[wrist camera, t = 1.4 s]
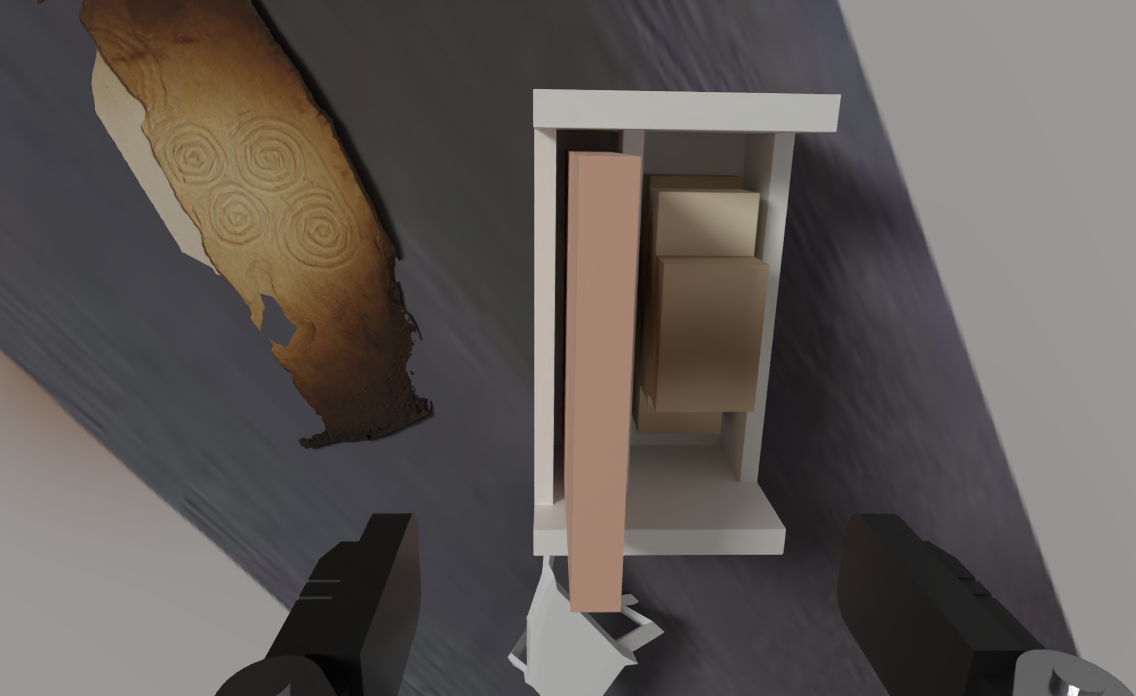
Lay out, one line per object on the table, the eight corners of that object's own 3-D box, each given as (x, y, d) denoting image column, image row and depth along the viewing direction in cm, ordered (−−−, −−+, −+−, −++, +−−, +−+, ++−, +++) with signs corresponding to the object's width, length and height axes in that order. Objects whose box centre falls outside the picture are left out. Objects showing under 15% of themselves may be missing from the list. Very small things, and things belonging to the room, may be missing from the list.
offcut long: (642, 173, 31) (650, 175, 29) (728, 174, 31) (743, 177, 29) (631, 413, 35) (638, 433, 32) (708, 413, 35) (720, 433, 32)
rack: (537, 103, 31) (533, 89, 22) (760, 107, 31) (840, 94, 23) (536, 457, 36) (533, 555, 28) (727, 457, 37) (782, 554, 28)
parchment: (26, -8, 29) (10, -12, 28) (219, -110, 28) (208, -117, 27) (312, 458, 37) (306, 465, 36) (474, 392, 35) (472, 398, 35)
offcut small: (656, 255, 27) (664, 263, 25) (753, 256, 27) (769, 265, 25) (648, 393, 29) (655, 411, 27) (740, 394, 29) (754, 411, 27)
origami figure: (674, 640, 40) (691, 706, 35) (546, 686, 41) (546, 757, 36) (599, 476, 37) (607, 525, 32) (461, 529, 38) (449, 585, 33)
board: (565, 149, 31) (579, 155, 17) (600, 150, 31) (641, 156, 17) (561, 431, 35) (570, 612, 21) (592, 430, 35) (620, 612, 21)
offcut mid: (650, 187, 29) (659, 192, 26) (742, 189, 29) (760, 193, 26) (640, 384, 31) (647, 404, 29) (724, 384, 32) (739, 404, 29)
